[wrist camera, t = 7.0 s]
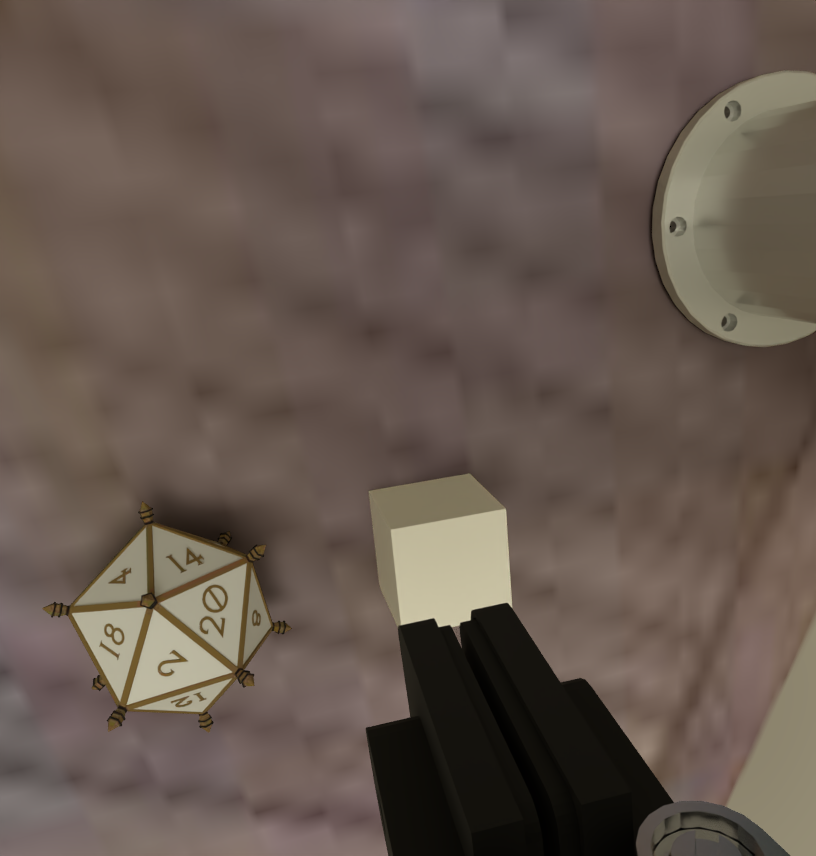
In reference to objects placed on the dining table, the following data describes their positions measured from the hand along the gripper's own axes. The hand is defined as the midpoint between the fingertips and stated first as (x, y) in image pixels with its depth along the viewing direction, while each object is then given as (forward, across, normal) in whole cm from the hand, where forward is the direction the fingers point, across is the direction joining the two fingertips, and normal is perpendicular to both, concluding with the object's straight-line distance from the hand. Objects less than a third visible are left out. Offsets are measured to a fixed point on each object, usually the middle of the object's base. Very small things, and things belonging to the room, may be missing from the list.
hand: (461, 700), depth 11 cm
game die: (+24, +8, +8) cm, 26 cm away
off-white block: (+24, -4, +8) cm, 26 cm away
